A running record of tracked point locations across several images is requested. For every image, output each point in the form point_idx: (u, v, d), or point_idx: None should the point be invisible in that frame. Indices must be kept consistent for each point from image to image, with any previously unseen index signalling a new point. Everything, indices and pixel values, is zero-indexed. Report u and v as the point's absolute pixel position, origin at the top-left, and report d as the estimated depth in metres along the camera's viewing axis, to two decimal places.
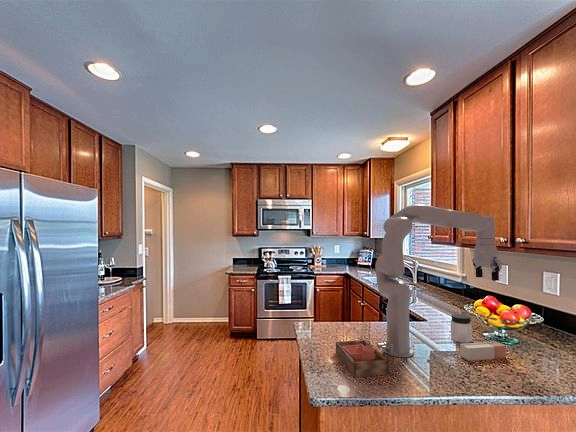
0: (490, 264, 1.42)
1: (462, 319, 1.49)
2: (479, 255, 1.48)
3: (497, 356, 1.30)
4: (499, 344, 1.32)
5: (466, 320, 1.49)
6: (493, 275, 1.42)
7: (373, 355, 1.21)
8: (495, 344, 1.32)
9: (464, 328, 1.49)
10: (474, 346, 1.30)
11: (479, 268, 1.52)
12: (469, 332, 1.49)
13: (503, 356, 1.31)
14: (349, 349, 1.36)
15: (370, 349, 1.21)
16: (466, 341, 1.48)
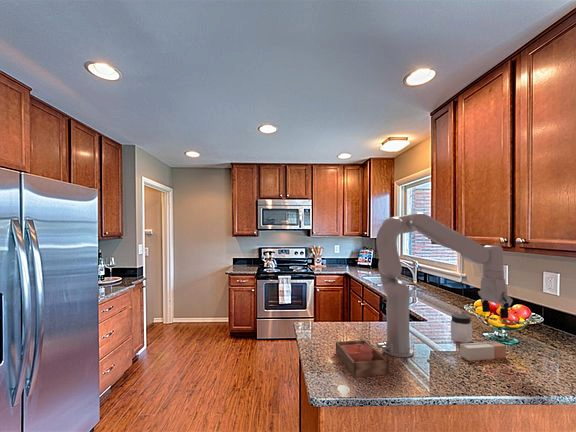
0: (498, 300, 1.29)
1: (462, 319, 1.49)
2: (486, 288, 1.34)
3: (497, 356, 1.30)
4: (499, 344, 1.32)
5: (466, 320, 1.49)
6: (502, 312, 1.28)
7: (370, 355, 1.21)
8: (495, 344, 1.32)
9: (464, 328, 1.49)
10: (474, 346, 1.30)
11: (486, 302, 1.38)
12: (469, 332, 1.49)
13: (503, 356, 1.31)
14: (348, 348, 1.37)
15: (367, 349, 1.21)
16: (466, 341, 1.48)
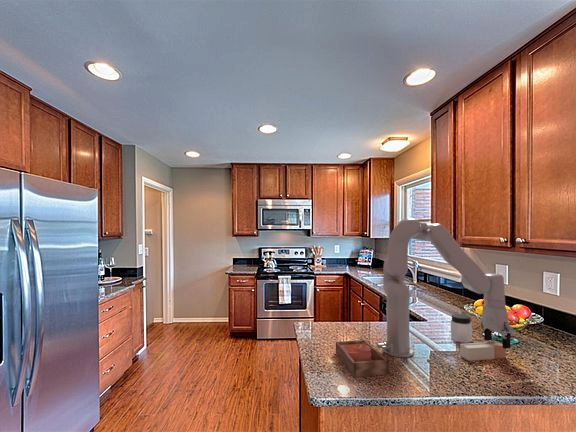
0: (500, 330, 1.28)
1: (462, 319, 1.49)
2: (488, 317, 1.34)
3: (497, 356, 1.30)
4: (499, 344, 1.32)
5: (466, 320, 1.49)
6: (504, 342, 1.28)
7: (369, 354, 1.22)
8: (495, 344, 1.32)
9: (464, 328, 1.49)
10: (474, 346, 1.30)
11: (488, 330, 1.38)
12: (469, 332, 1.49)
13: (503, 356, 1.31)
14: (347, 348, 1.37)
15: (366, 348, 1.22)
16: (466, 341, 1.48)
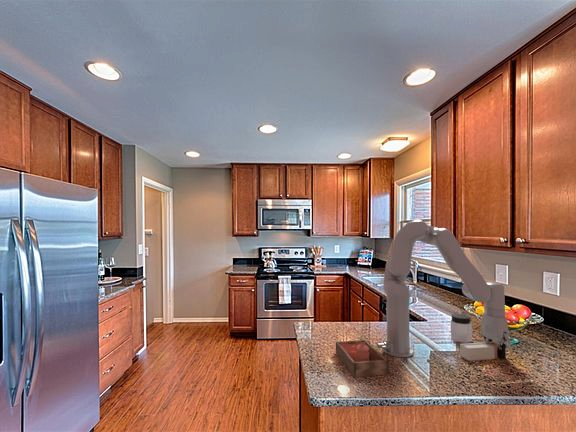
0: (500, 339, 1.28)
1: (462, 319, 1.49)
2: (487, 326, 1.34)
3: (497, 356, 1.30)
4: None
5: (466, 320, 1.49)
6: (499, 353, 1.30)
7: (367, 354, 1.22)
8: (495, 344, 1.32)
9: (464, 328, 1.49)
10: (474, 346, 1.30)
11: None
12: (469, 332, 1.49)
13: None
14: (347, 348, 1.38)
15: (364, 348, 1.22)
16: (466, 341, 1.48)
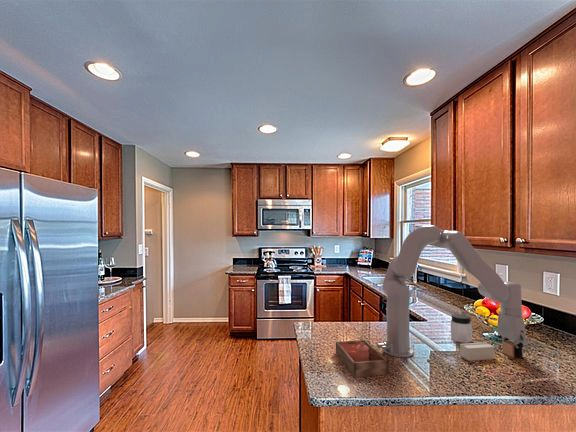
0: (517, 338, 1.29)
1: (462, 319, 1.49)
2: (504, 325, 1.35)
3: None
4: None
5: (466, 320, 1.49)
6: (516, 351, 1.31)
7: (366, 354, 1.22)
8: (512, 343, 1.33)
9: (464, 328, 1.49)
10: (474, 346, 1.30)
11: None
12: (469, 332, 1.49)
13: None
14: (347, 347, 1.38)
15: (363, 348, 1.22)
16: (466, 341, 1.48)
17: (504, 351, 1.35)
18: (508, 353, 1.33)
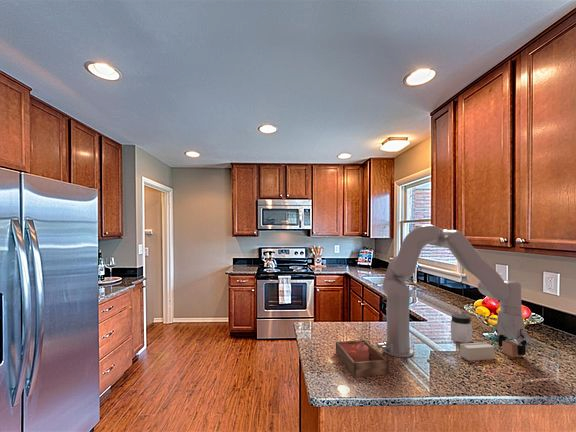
0: (516, 337, 1.29)
1: (462, 319, 1.49)
2: (503, 324, 1.35)
3: (514, 355, 1.31)
4: (516, 343, 1.33)
5: (466, 320, 1.49)
6: (519, 349, 1.29)
7: (366, 354, 1.22)
8: (512, 343, 1.33)
9: (464, 328, 1.49)
10: (474, 346, 1.30)
11: (502, 336, 1.39)
12: (469, 332, 1.49)
13: (520, 355, 1.32)
14: (346, 347, 1.38)
15: (363, 348, 1.22)
16: (466, 341, 1.48)
17: (504, 351, 1.35)
18: (508, 353, 1.33)
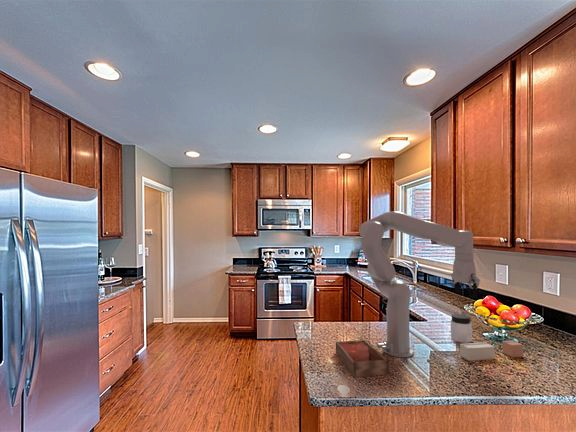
0: (468, 281, 1.38)
1: (462, 319, 1.49)
2: (457, 271, 1.44)
3: (514, 355, 1.31)
4: (516, 343, 1.33)
5: (466, 320, 1.49)
6: (471, 292, 1.38)
7: (366, 354, 1.22)
8: (512, 343, 1.33)
9: (464, 328, 1.49)
10: (474, 346, 1.30)
11: (458, 284, 1.48)
12: (469, 332, 1.49)
13: (520, 355, 1.32)
14: (346, 347, 1.38)
15: (363, 348, 1.22)
16: (466, 341, 1.48)
17: (504, 351, 1.35)
18: (508, 353, 1.33)
